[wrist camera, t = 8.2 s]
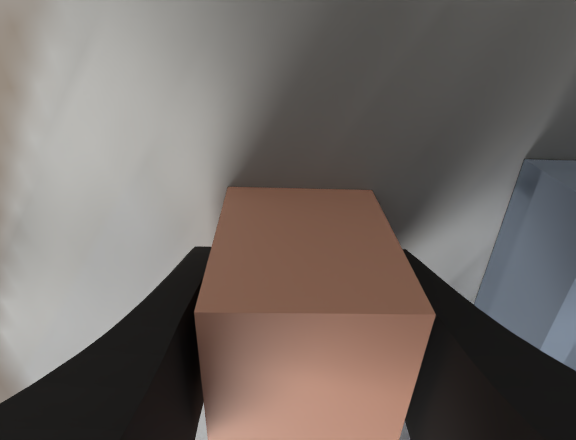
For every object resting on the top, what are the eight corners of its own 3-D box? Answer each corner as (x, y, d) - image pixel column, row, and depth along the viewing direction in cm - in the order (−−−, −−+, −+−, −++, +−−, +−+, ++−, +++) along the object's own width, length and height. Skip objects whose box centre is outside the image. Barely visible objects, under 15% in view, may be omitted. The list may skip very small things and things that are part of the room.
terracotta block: (354, 299, 13) (395, 453, 8) (232, 298, 13) (209, 454, 8) (371, 189, 11) (436, 314, 6) (227, 186, 11) (193, 312, 6)
